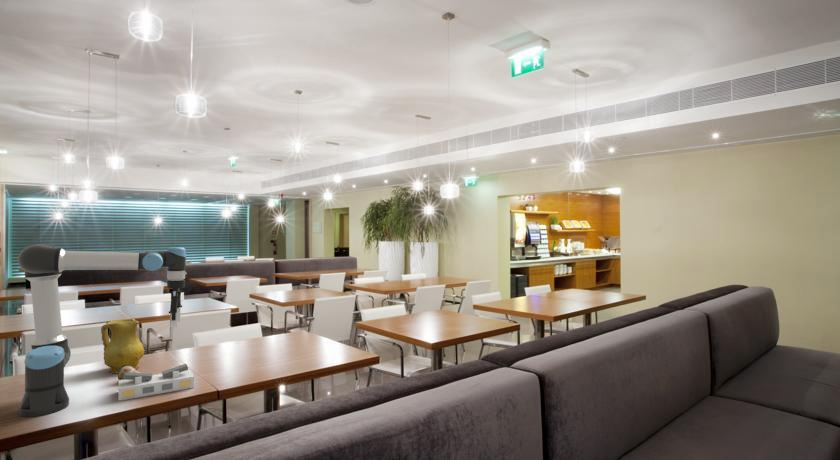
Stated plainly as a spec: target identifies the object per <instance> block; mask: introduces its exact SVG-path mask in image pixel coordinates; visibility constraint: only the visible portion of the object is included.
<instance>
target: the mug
mask: <svg viewBox="0 0 840 460" xmlns="http://www.w3.org/2000/svg"><path fill="white" fill-rule="evenodd" d="M125 372H128V373H138V372H139V371H138V370H137V369H136V370H135V369H134V368H133V367H131V366H125V367H123V368H122V369H121V370H120V372H119V373H118V375H117V379H118V381H119V380H124V375H125Z"/></svg>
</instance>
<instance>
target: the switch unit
mask: <svg viewBox="0 0 840 460" xmlns="http://www.w3.org/2000/svg"><path fill="white" fill-rule="evenodd" d="M174 367H175V366H173V367H171V368H174ZM192 371H193V370H191V369H189V368H188V370H186V371H183V372H180V373H179V371H173V375H171V376H168V377H166V378H163V375H162V373H158V374H152V379H151V380H142V376H141V377H135V380H118V401H125V400H132V399H137V398H142V397H149V396H155V395H160V394H164V393H172V392H176V391H183V390H187V389H189V390H190V389H194V388H195V375H194V373H193V372H192ZM137 372H138V373H142V372H141V371H137Z"/></svg>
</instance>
